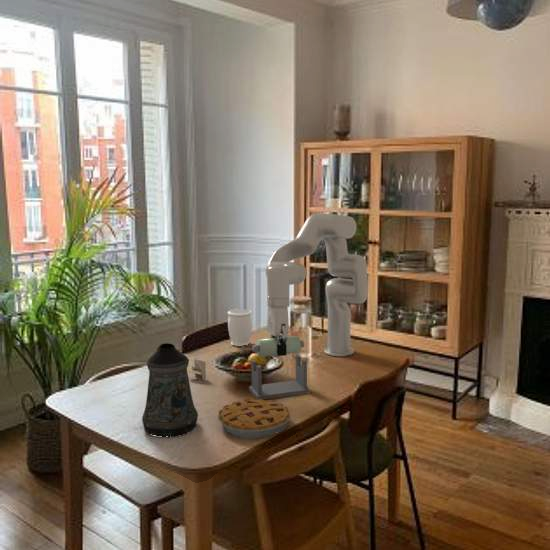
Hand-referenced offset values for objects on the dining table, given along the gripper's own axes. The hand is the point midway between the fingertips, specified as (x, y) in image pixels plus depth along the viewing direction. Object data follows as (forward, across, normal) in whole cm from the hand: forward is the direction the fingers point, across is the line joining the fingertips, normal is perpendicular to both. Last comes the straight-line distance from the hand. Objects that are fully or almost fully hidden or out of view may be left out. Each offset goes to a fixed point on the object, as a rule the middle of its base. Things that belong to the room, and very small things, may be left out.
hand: (278, 352), depth 201 cm
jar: (+14, -59, +2) cm, 61 cm away
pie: (+15, +23, -16) cm, 31 cm away
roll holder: (+14, 0, 0) cm, 14 cm away
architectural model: (+15, -22, -24) cm, 36 cm away
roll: (+1, 0, 0) cm, 1 cm away
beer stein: (+15, +14, -41) cm, 45 cm away
